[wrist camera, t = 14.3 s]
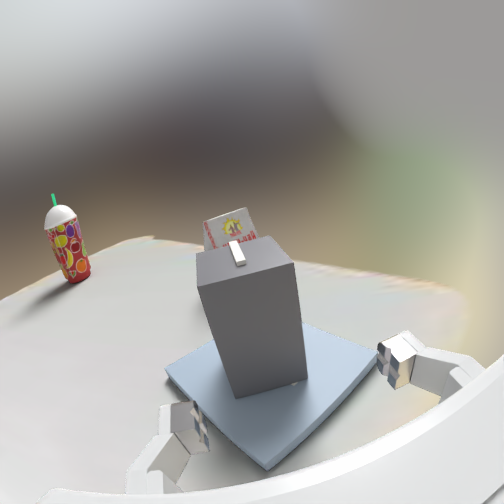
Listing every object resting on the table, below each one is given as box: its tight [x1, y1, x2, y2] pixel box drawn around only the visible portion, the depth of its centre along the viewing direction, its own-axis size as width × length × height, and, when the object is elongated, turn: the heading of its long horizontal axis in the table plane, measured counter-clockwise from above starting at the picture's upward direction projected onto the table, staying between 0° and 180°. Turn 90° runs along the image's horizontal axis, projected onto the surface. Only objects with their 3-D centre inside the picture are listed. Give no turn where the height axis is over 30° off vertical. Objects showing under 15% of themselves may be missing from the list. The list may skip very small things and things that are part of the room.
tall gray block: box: [196, 236, 308, 399], centre depth 21 cm, size 6×6×10 cm
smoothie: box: [44, 194, 91, 283], centre depth 54 cm, size 8×8×20 cm
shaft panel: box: [164, 322, 378, 471], centre depth 22 cm, size 13×14×8 cm
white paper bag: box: [203, 208, 259, 251], centre depth 40 cm, size 4×7×10 cm, turn 125°
